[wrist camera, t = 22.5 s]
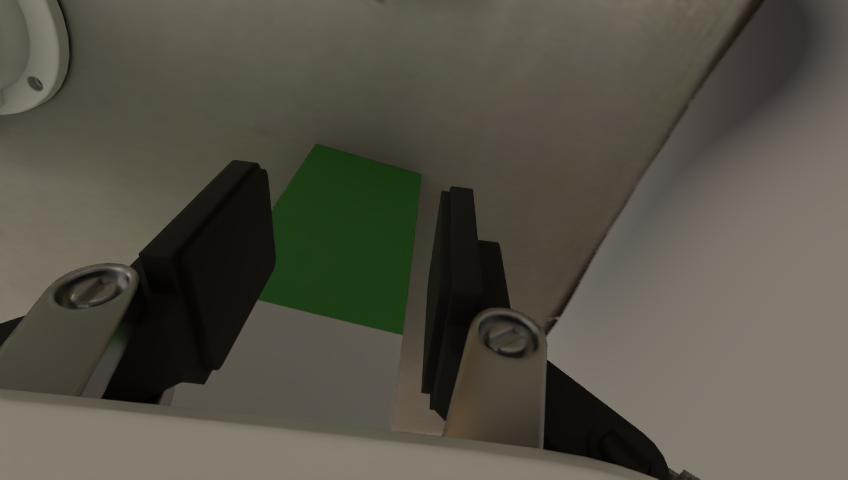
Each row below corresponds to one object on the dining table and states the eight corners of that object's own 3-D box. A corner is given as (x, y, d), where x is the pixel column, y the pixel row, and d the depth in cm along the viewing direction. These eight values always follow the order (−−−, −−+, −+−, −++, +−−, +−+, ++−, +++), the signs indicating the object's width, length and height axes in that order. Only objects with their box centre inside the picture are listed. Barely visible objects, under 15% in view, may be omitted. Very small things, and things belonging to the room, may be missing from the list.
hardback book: (367, 342, 40) (285, 738, 20) (286, 323, 39) (117, 717, 19) (421, 174, 30) (369, 616, 10) (315, 143, 29) (36, 562, 9)
